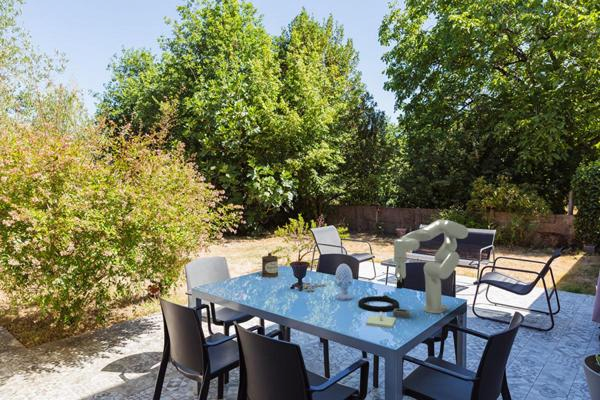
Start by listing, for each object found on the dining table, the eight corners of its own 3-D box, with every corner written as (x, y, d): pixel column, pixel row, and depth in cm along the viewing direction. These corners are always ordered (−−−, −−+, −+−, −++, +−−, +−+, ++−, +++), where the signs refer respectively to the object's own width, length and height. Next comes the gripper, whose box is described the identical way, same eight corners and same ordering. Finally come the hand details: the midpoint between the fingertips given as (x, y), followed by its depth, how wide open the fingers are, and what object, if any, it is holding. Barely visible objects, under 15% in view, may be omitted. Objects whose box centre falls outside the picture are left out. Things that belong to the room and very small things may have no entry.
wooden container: (267, 278, 343) (266, 254, 342) (259, 275, 355) (259, 252, 355) (280, 276, 351) (280, 252, 350) (273, 273, 363) (272, 251, 363)
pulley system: (295, 291, 298) (312, 293, 290) (295, 285, 298) (311, 287, 290) (312, 285, 321) (328, 286, 313) (312, 280, 321) (328, 281, 314)
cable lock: (351, 303, 249) (367, 292, 275) (351, 309, 249) (367, 297, 275) (392, 309, 235) (405, 297, 261) (392, 315, 235) (405, 302, 261)
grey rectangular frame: (409, 315, 233) (409, 309, 233) (408, 318, 228) (408, 312, 228) (394, 313, 237) (394, 308, 237) (393, 316, 231) (393, 311, 231)
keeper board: (395, 320, 225) (395, 309, 225) (392, 328, 212) (392, 316, 212) (371, 317, 230) (370, 307, 230) (366, 325, 217) (365, 314, 217)
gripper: (404, 261, 222) (405, 290, 223) (408, 257, 238) (408, 283, 239) (391, 261, 225) (392, 289, 226) (396, 256, 241) (396, 283, 242)
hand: (400, 286), depth 232 cm, fingers open, 9 cm apart
